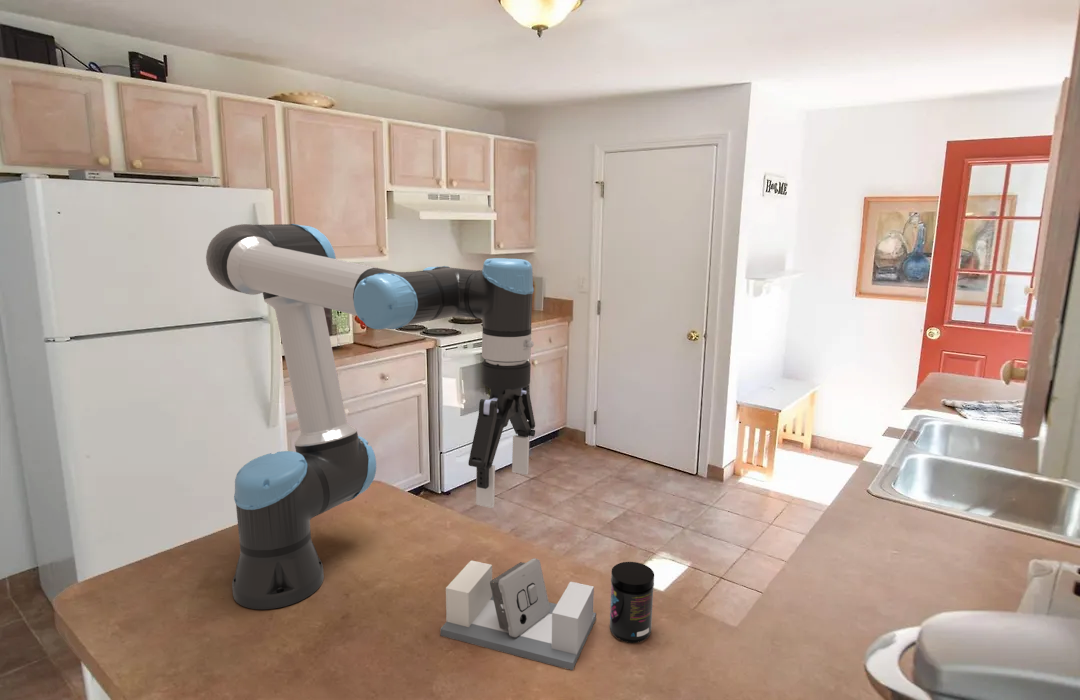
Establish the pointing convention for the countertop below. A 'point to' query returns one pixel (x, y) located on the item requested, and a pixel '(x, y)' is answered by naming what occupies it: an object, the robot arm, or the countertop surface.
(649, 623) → the supplement container
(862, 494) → the countertop surface
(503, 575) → the electrical switch
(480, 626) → the rail plate
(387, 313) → the robot arm
